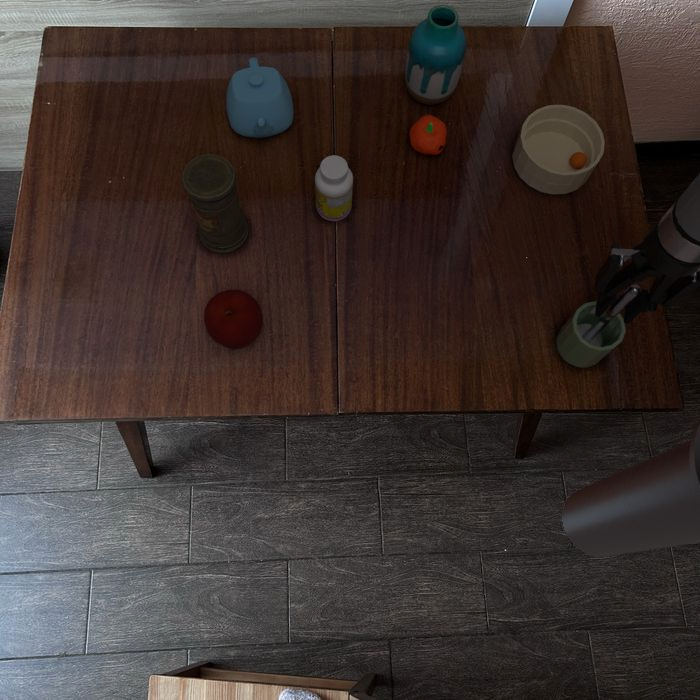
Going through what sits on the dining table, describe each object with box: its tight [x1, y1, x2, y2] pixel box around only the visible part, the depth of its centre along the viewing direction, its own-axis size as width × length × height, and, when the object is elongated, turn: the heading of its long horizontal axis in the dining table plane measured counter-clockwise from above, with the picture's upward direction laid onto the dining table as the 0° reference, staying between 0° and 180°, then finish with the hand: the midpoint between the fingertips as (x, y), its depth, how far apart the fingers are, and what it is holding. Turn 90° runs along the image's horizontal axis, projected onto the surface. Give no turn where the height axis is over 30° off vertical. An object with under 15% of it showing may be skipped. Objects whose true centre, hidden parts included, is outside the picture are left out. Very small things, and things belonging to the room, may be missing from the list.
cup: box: [555, 300, 627, 368], centre depth 116 cm, size 8×9×9 cm
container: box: [181, 153, 249, 255], centre depth 117 cm, size 9×9×18 cm
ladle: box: [577, 283, 641, 347], centre depth 109 cm, size 5×5×23 cm
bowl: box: [511, 104, 606, 195], centre depth 130 cm, size 15×15×7 cm
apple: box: [203, 288, 264, 350], centre depth 115 cm, size 10×10×10 cm
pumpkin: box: [408, 114, 448, 156], centre depth 131 cm, size 7×8×6 cm
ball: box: [570, 152, 587, 168], centre depth 131 cm, size 3×3×3 cm
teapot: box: [225, 56, 295, 139], centre depth 129 cm, size 13×11×18 cm
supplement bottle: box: [314, 154, 354, 222], centre depth 122 cm, size 7×7×13 cm
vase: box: [404, 4, 467, 106], centre depth 129 cm, size 11×11×19 cm
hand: (612, 311), depth 107 cm, fingers open, 4 cm apart
